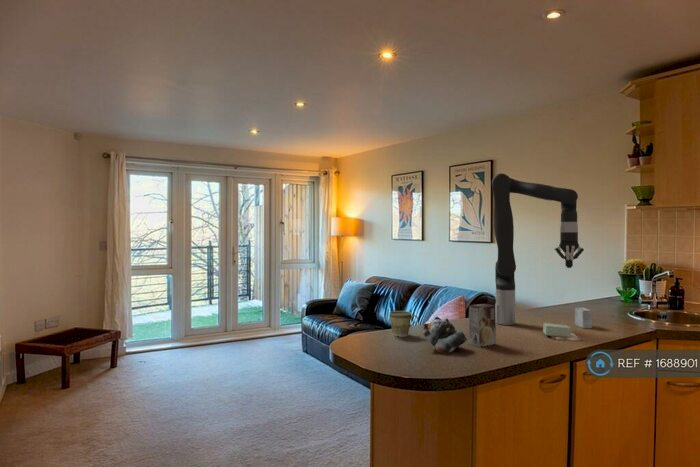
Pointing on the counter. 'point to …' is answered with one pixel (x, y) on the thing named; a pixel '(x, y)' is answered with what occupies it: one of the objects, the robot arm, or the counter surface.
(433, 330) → the grey stuffed animal
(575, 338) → the beech board
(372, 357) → the counter surface
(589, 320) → the medicine box
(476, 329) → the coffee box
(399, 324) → the ceramic cup
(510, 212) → the robot arm
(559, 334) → the sage block
